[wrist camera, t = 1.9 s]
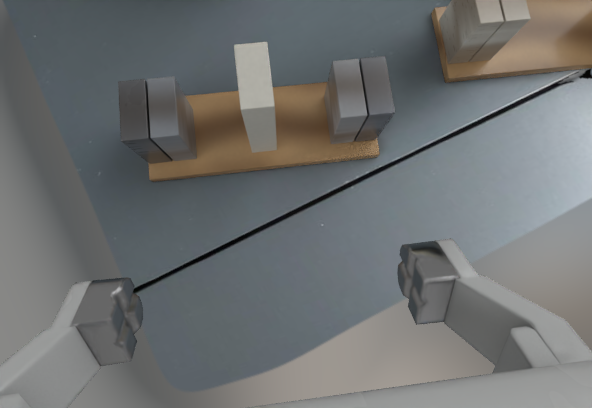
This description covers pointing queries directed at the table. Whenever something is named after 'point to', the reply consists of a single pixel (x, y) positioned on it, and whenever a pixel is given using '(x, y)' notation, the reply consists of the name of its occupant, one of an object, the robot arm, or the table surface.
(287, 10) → the table surface
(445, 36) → the white book rack
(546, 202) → the table surface
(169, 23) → the table surface
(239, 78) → the tall white book
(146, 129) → the grey book rack
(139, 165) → the table surface
